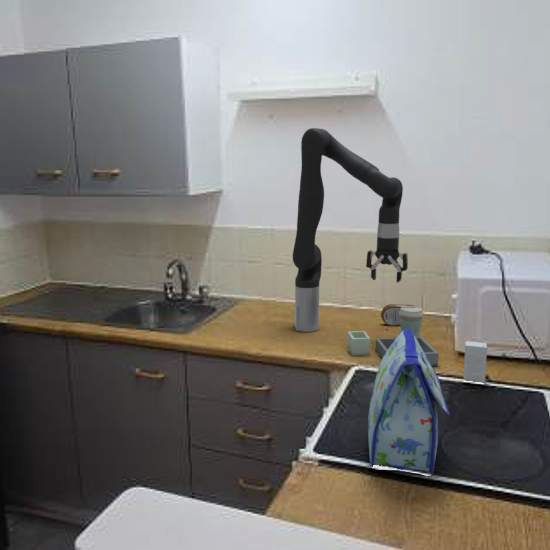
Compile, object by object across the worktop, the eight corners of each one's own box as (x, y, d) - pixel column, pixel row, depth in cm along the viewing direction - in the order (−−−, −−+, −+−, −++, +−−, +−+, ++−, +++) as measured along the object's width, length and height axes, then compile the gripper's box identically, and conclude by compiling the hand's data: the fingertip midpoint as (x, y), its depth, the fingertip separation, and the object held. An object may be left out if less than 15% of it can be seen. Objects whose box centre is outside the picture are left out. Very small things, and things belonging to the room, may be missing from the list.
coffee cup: (424, 338, 203) (425, 306, 200) (419, 345, 195) (421, 313, 193) (400, 335, 206) (401, 304, 204) (395, 342, 199) (396, 310, 196)
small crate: (352, 356, 186) (352, 339, 185) (347, 347, 194) (347, 331, 193) (369, 355, 187) (370, 338, 185) (364, 347, 194) (364, 330, 193)
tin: (419, 324, 219) (420, 304, 217) (420, 327, 216) (421, 306, 214) (380, 323, 221) (381, 303, 219) (381, 326, 218) (382, 305, 216)
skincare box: (484, 380, 165) (487, 342, 163) (484, 386, 161) (487, 347, 159) (462, 378, 167) (465, 340, 165) (462, 383, 163) (465, 345, 161)
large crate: (388, 368, 175) (388, 355, 174) (375, 350, 191) (375, 338, 190) (437, 366, 176) (438, 353, 175) (420, 349, 192) (421, 336, 191)
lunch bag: (447, 480, 116) (455, 363, 110) (367, 474, 118) (370, 359, 113) (435, 429, 137) (441, 328, 131) (367, 424, 140) (370, 325, 134)
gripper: (365, 235, 193) (363, 281, 197) (406, 238, 187) (404, 285, 191) (370, 232, 200) (369, 276, 203) (410, 235, 194) (408, 280, 198)
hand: (386, 280), depth 197 cm, fingers open, 8 cm apart
